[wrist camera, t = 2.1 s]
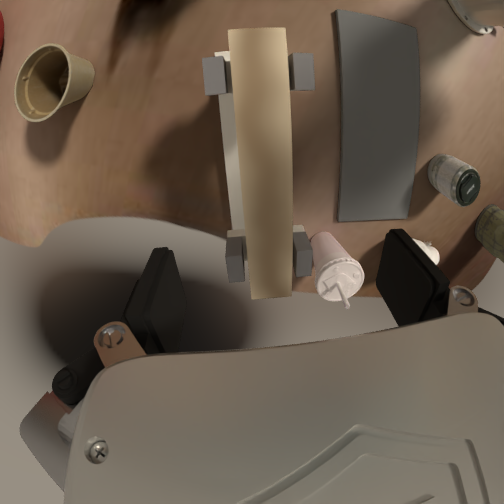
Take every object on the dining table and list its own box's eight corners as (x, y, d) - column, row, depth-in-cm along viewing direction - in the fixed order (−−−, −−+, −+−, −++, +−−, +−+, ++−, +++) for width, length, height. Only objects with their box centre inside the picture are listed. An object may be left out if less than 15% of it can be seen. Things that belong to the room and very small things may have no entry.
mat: (413, 28, 22) (416, 28, 21) (404, 216, 38) (407, 218, 37) (335, 10, 22) (337, 9, 21) (336, 219, 38) (338, 221, 37)
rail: (277, 38, 17) (285, 27, 14) (285, 272, 30) (291, 296, 27) (229, 40, 17) (227, 29, 14) (250, 275, 30) (251, 299, 27)
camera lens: (419, 170, 34) (450, 189, 27) (442, 144, 31) (475, 159, 25) (436, 196, 36) (465, 217, 30) (457, 171, 34) (488, 189, 27)
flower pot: (118, 60, 24) (84, 55, 17) (86, 121, 28) (50, 134, 21) (71, 41, 21) (34, 36, 14) (44, 99, 25) (6, 108, 18)
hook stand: (283, 50, 25) (310, 24, 14) (289, 231, 39) (309, 294, 28) (215, 54, 25) (199, 29, 14) (234, 235, 39) (232, 301, 28)
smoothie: (309, 219, 38) (338, 282, 26) (348, 227, 39) (387, 288, 27) (296, 256, 41) (316, 325, 30) (333, 262, 42) (362, 327, 31)
